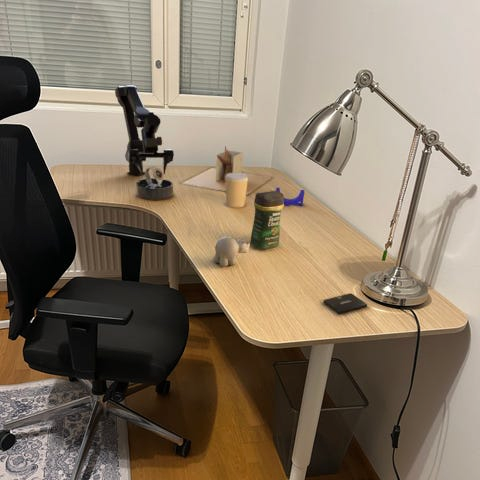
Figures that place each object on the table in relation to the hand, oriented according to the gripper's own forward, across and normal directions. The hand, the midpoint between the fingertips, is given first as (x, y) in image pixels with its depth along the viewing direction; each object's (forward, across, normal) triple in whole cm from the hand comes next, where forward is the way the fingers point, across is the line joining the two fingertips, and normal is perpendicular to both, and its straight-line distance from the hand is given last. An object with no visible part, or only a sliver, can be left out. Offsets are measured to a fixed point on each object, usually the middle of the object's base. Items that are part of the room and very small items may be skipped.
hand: (153, 173), depth 195 cm
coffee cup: (+19, +31, -7) cm, 37 cm away
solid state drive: (+79, +38, -68) cm, 111 cm away
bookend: (-6, +38, +18) cm, 43 cm away
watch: (+7, 0, +4) cm, 8 cm away
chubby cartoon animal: (+57, +14, -45) cm, 74 cm away
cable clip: (+20, +55, -8) cm, 59 cm away
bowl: (+8, 0, +4) cm, 9 cm away
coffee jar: (+49, +29, -38) cm, 68 cm away
